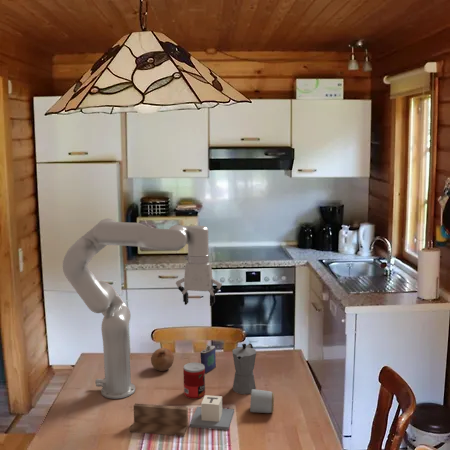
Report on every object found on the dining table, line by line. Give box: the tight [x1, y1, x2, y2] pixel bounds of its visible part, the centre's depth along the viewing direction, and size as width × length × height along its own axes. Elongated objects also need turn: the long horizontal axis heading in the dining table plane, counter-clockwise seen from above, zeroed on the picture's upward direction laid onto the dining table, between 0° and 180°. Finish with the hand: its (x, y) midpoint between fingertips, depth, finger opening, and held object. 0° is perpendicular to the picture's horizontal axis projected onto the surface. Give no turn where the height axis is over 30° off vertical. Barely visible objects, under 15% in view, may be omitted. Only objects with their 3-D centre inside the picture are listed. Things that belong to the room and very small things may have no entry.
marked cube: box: [200, 394, 223, 422], centre depth 185 cm, size 6×6×6 cm
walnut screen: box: [129, 403, 189, 437], centre depth 179 cm, size 18×6×7 cm, turn 80°
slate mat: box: [189, 406, 235, 431], centre depth 185 cm, size 13×12×1 cm
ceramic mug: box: [249, 388, 275, 414], centre depth 191 cm, size 11×8×8 cm
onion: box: [150, 347, 175, 372], centre depth 225 cm, size 10×9×10 cm
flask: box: [200, 344, 217, 375], centre depth 224 cm, size 9×3×11 cm, turn 147°
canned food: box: [182, 362, 206, 400], centre depth 203 cm, size 8×8×11 cm
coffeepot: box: [232, 342, 257, 395], centre depth 207 cm, size 15×9×18 cm, turn 159°
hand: (199, 304), depth 203 cm, fingers open, 9 cm apart
